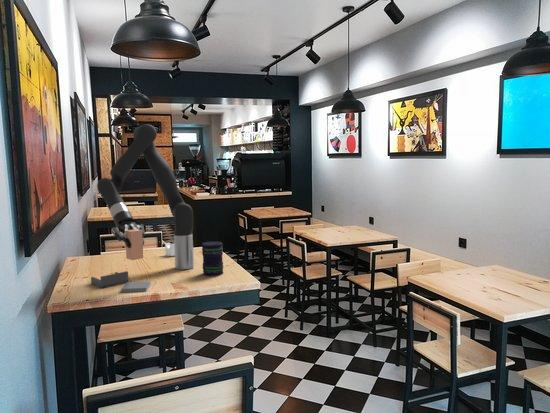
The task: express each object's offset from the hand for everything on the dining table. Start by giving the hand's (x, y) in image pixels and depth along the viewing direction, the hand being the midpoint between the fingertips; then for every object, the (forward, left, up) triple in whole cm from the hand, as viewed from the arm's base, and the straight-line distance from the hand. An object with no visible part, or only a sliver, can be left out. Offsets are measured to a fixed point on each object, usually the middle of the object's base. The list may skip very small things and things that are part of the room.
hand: (136, 245), depth 171 cm
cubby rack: (+15, -12, -19) cm, 27 cm away
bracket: (-9, -69, -19) cm, 72 cm away
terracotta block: (+1, -1, -6) cm, 6 cm away
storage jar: (-31, -20, -19) cm, 42 cm away
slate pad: (+1, -1, -19) cm, 19 cm away
